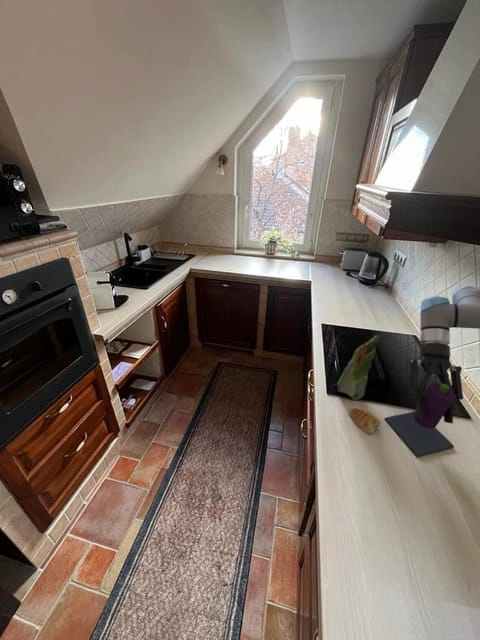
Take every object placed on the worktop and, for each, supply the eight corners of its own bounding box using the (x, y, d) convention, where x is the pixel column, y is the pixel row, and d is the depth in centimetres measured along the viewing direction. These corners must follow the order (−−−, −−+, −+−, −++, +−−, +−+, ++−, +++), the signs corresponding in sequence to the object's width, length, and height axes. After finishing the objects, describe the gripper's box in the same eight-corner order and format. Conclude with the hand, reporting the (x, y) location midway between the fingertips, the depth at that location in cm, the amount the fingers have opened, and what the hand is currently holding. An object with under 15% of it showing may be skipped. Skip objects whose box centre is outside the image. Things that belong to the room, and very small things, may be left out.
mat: (417, 412, 91) (418, 410, 91) (453, 447, 80) (454, 446, 79) (384, 419, 88) (384, 417, 88) (416, 457, 77) (417, 455, 76)
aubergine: (424, 410, 84) (444, 376, 76) (441, 426, 79) (464, 392, 71) (408, 413, 83) (426, 379, 75) (424, 430, 77) (446, 396, 70)
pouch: (361, 382, 103) (380, 331, 91) (369, 405, 93) (391, 351, 81) (333, 378, 105) (347, 327, 92) (338, 401, 95) (355, 347, 82)
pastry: (345, 416, 89) (347, 409, 87) (356, 408, 92) (358, 400, 90) (370, 436, 82) (373, 429, 80) (381, 426, 86) (384, 418, 84)
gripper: (460, 350, 83) (462, 425, 77) (396, 342, 86) (394, 412, 81) (478, 347, 75) (482, 429, 70) (407, 337, 79) (405, 415, 73)
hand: (435, 420), depth 75 cm, fingers closed on aubergine, 6 cm apart
